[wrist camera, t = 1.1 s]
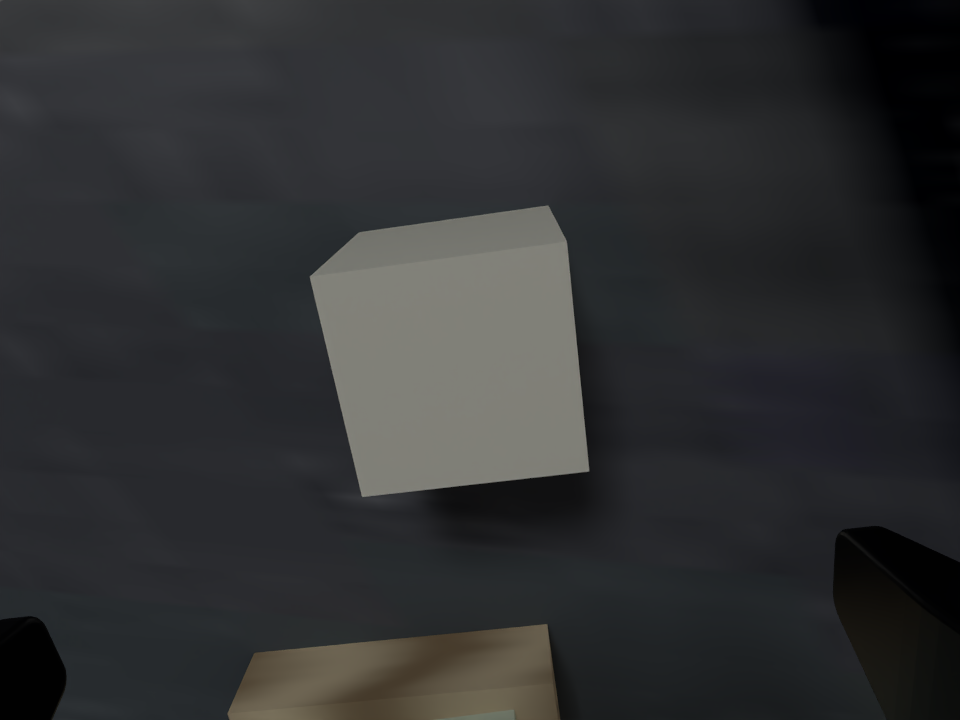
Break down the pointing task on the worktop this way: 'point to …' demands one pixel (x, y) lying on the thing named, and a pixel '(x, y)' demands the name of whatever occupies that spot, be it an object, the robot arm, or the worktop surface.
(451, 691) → the oak slab
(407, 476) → the cream block
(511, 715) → the sage block
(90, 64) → the worktop surface
